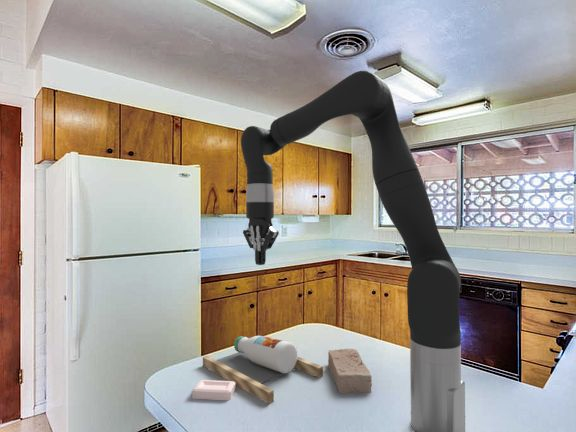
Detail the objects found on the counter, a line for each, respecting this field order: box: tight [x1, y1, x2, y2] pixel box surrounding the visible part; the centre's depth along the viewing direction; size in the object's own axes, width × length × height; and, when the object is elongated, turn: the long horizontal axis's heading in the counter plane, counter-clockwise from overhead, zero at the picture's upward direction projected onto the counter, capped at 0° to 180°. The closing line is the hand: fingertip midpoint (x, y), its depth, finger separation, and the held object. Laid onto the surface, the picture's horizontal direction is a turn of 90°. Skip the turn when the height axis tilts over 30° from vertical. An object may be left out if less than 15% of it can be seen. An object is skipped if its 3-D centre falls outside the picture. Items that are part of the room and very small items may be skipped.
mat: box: [216, 352, 297, 385], centre depth 96 cm, size 20×15×1 cm
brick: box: [327, 348, 373, 394], centre depth 90 cm, size 16×8×5 cm, turn 3°
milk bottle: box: [233, 335, 298, 374], centre depth 97 cm, size 8×8×20 cm
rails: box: [202, 355, 324, 405], centre depth 93 cm, size 28×19×2 cm
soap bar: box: [191, 379, 237, 401], centre depth 82 cm, size 5×9×2 cm, turn 84°
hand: (260, 264), depth 94 cm, fingers closed
